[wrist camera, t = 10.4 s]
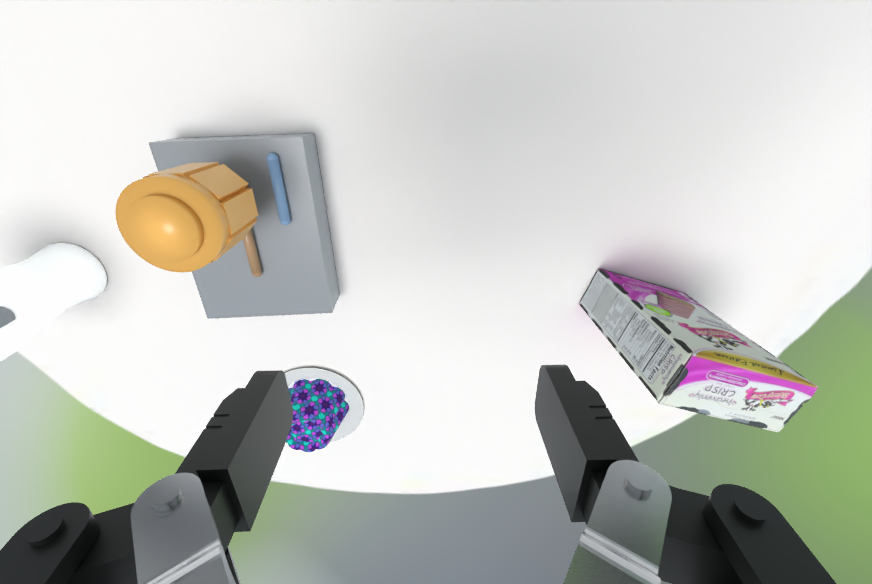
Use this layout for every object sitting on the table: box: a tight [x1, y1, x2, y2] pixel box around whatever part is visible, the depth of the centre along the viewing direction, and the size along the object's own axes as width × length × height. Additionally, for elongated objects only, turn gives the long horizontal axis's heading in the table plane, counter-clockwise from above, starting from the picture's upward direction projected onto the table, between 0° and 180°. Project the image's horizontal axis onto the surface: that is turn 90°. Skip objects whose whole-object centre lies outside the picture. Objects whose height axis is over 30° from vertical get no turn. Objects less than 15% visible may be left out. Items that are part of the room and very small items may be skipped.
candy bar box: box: [579, 269, 818, 432], centre depth 36 cm, size 11×5×16 cm, turn 73°
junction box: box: [149, 133, 339, 319], centre depth 36 cm, size 16×12×5 cm
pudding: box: [284, 368, 364, 452], centre depth 46 cm, size 12×12×5 cm
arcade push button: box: [116, 162, 258, 272], centre depth 26 cm, size 6×6×7 cm
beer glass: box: [0, 243, 107, 362], centre depth 32 cm, size 7×7×15 cm
